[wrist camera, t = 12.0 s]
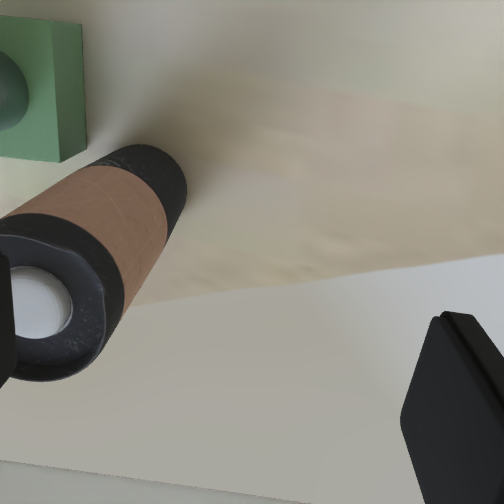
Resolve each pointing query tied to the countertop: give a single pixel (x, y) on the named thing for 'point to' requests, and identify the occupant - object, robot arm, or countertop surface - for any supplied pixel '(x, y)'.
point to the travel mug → (86, 256)
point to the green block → (46, 89)
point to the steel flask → (11, 93)
